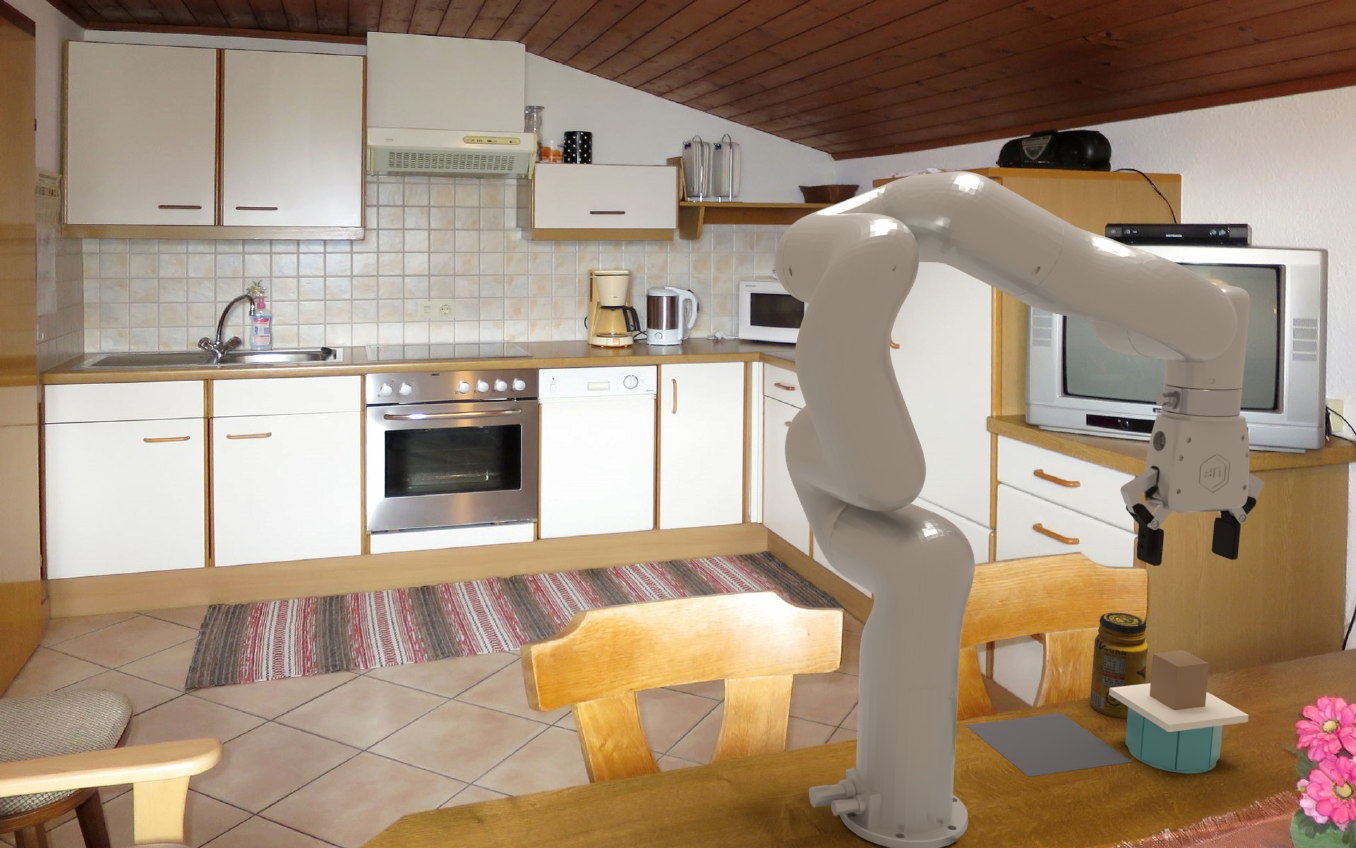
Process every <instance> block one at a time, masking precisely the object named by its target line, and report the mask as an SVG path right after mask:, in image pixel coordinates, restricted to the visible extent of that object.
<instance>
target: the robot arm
mask: <svg viewBox="0 0 1356 848" xmlns="http://www.w3.org/2000/svg"><path fill="white" fill-rule="evenodd" d="M920 263H939V264H944V265H947V266H948V267H949V266H950V267H952V268H955V269H957V270H959V271H960V272H962V273H965V274H966V275H968V276H971V277H972V278H974V279H977V280H978V281H980V282H983V283H985V284H987V285H988V286H990V287H992V288H994V289H997V290H998V291H1000V292H1003V293H1004V294H1006V295H1008V296H1010V297H1012V298H1014V299H1015V300H1017V301H1020V302H1021V303H1023V304H1025V305H1027V306H1030V307H1032V308H1035V309H1038V310H1042V311H1044V312H1045V311H1046V312H1049V313H1050V314H1051V313H1052V314H1055V315H1060V316H1065V317H1071V318H1077V319H1083V320H1086V321H1087V320H1088V321H1091V323H1092V328H1093V331H1094V332H1093V333H1094V334H1095V336H1096V337H1097V339H1098V340H1099V341H1100V342H1101V344H1102V345H1104V346H1105V347H1107V348H1108V349H1110V350H1111V351H1114V352H1116V353H1119V354H1123V355H1128V356H1133V357H1142V358H1149V359H1160V360H1165V366H1164V375H1163V390H1162V393H1158V394H1156V396H1155V402H1156V403H1155V404H1156V405H1157V406H1159V407H1161V411H1160V412H1161V413H1157V415H1156V418H1155V421H1154V423H1153V428H1152V431H1151V435H1150V437H1149V438H1150V439H1149V443H1148V447H1147V448H1148V449H1147V454H1146V459H1145V460H1146V461H1145V465H1144V467H1145V468H1144V472H1142V473H1140V475H1138V476H1136V477H1135V478H1133V479H1132V480H1129V481H1128V482H1126V483H1125V484H1123V485H1122V486H1121V487H1120V493H1121V496H1122V499H1123V501H1124V504H1125V510H1126V511H1127V512H1128V514H1129V515H1130V516H1131V517H1132V518H1133V522H1134V523H1135V524H1137V525H1138V532H1137V541H1136V542H1137V543H1136V558H1137V560H1138V561H1141V562H1143V563H1146V564H1148V565H1150V566H1153V567H1158V566H1161V564H1162V562H1163V561H1162V560H1163V550H1164V539H1165V538H1164V537H1165V531H1164V529H1162V528H1160V527H1161V525H1162V524H1163V523H1164V522H1165V520H1166V519H1167V518H1168V517H1169V515H1170V514H1171V512H1173V513H1177V514H1191V513H1193V514H1194V513H1208V512H1217V513H1218V514H1219V516H1220V517H1219V516H1218V517H1216V516H1215V518H1214V521H1213V531H1212V541H1211V552H1212V553H1213V554H1214V555H1218V556H1220V557H1222V558H1225V559H1228V560H1231V561H1235V560H1237V559H1238V557H1239V548H1240V539H1241V538H1240V536H1241V527H1242V526H1241V525H1242V524H1246V522H1247V520H1248V515H1249V514H1250V512H1252V510H1253V509H1254V508H1255V507H1256V505H1257V500H1256V499H1258V498H1259V496H1260V494H1261V492H1262V491H1263V489H1264V486H1265V482H1264V480H1263V479H1261V478H1259V477H1258V476H1256V475H1254V474H1252V473H1251V472H1250V439H1249V429H1248V425H1247V420H1246V417H1245V416H1242V415H1240V414H1241V405H1242V397H1243V396H1242V395H1243V382H1244V372H1245V362H1246V352H1247V344H1248V343H1247V342H1248V330H1249V320H1250V311H1251V299H1250V295H1249V293H1248V291H1246V289H1244V288H1242V287H1240V286H1234V285H1219V284H1215V283H1213V282H1211V281H1210V280H1208V279H1206V278H1204V277H1202V275H1200V274H1198V273H1196V272H1195V271H1192V270H1190V269H1189V268H1187V267H1184V266H1183V265H1181V264H1179V263H1176V262H1174V261H1172V260H1170V259H1169V258H1168V259H1167V258H1165V257H1163V256H1160V255H1157V254H1154V253H1152V252H1149V251H1145V250H1142V249H1139V248H1137V247H1133V246H1131V245H1128V244H1125V243H1122V242H1119V241H1117V240H1114V239H1112V238H1109V237H1107V236H1104V235H1101V234H1098V233H1095V232H1091V231H1089V230H1085V229H1082V228H1079V227H1077V226H1075V225H1073V224H1071V223H1070V222H1068V221H1066V220H1064V219H1063V218H1060V217H1059V216H1057V215H1055V214H1053V213H1051V212H1050V211H1048V210H1047V209H1044V208H1043V207H1041V206H1039V205H1038V204H1036V203H1034V202H1032V201H1030V200H1029V199H1027V198H1025V197H1023V196H1022V195H1019V194H1018V193H1016V192H1014V191H1012V190H1010V189H1009V188H1007V187H1005V186H1003V185H1001V184H1000V183H998V182H997V181H995V180H992V179H990V178H989V177H987V176H984V175H983V174H982V175H981V174H979V173H975V172H970V171H965V170H962V171H961V170H959V171H956V170H955V171H946V172H945V171H944V172H934V173H921V174H912V175H909V176H906V177H902V178H898V179H896V180H893V181H891V182H888V183H885V184H883V185H881V186H878V187H875V188H872V189H870V190H868V191H866V192H863V193H861V194H858V195H855V196H853V197H851V198H848V199H845V200H844V201H843V200H842V201H840V202H837V203H836V204H833V205H830V206H828V207H824V208H822V209H819V210H817V211H814V212H812V213H810V214H807V215H805V216H803V217H800V218H799V219H798V220H796V221H795V222H793V223H792V224H790V226H789V227H788V228H787V229H786V230H785V231H784V233H783V234H782V236H781V238H780V239H779V241H778V243H777V246H776V249H775V254H774V268H775V273H776V275H777V278H778V280H779V283H780V284H781V286H782V287H783V288H784V290H785V291H786V292H787V293H788V294H789V295H791V297H793V298H794V299H797V300H798V301H800V302H804V303H806V304H807V307H806V310H805V312H804V315H803V318H802V321H801V324H800V326H799V331H798V334H797V338H796V342H795V349H794V361H795V362H794V363H795V371H796V372H795V373H796V377H797V382H798V385H799V388H800V391H801V393H802V394H801V395H802V397H803V399H804V402H805V406H804V407H802V408H801V409H800V410H799V411H797V413H796V414H795V415H794V417H793V419H791V420H792V421H791V422H790V424H789V427H788V429H787V433H786V436H785V441H784V442H785V444H784V455H785V462H786V463H785V464H786V469H787V471H788V475H789V477H790V480H791V482H792V483H791V484H792V485H793V488H794V490H795V493H796V495H797V497H798V501H799V502H800V505H801V507H802V509H803V512H804V514H805V517H806V520H807V522H808V525H809V526H810V529H811V531H812V534H813V536H814V538H815V541H816V543H817V545H818V548H819V549H820V551H821V553H822V555H823V557H824V558H825V559H826V561H827V562H828V564H829V565H830V566H831V568H833V569H834V570H835V571H836V572H837V573H839V574H840V575H841V576H843V577H845V578H846V579H847V580H850V581H851V582H853V583H854V584H856V585H858V586H860V587H862V588H864V589H866V591H868V592H870V593H872V594H873V597H874V599H873V600H874V601H873V605H872V608H871V610H870V613H869V615H868V618H867V619H866V622H865V625H864V627H863V631H862V632H861V633H862V634H861V638H860V645H859V660H858V661H859V663H858V666H859V671H858V699H857V700H858V701H857V703H858V704H857V728H856V729H857V731H856V762H855V764H856V765H855V767H850V768H847V769H846V771H845V777H846V778H845V779H841V780H838V782H837V783H836V784H830V785H828V784H824V785H817V786H816V785H815V786H810V787H809V789H808V800H809V802H810V804H811V806H812V808H820V807H825V806H826V807H827V806H830V808H831V813H832V814H833V816H835V817H837V816H840V819H841V821H842V823H843V824H844V825H845V826H846V827H847V829H848V830H849V831H851V832H853V834H855V835H857V836H858V837H860V838H862V839H863V840H866V841H867V842H871V843H873V844H875V845H879V846H881V847H882V846H883V847H886V848H944V847H946V846H949V845H951V844H954V843H956V842H957V841H958V840H960V839H959V838H961V837H962V836H963V835H964V834H965V833H966V831H967V829H968V826H969V813H968V809H967V807H966V805H965V804H964V803H963V802H962V800H961V799H959V797H957V796H956V795H955V794H954V781H955V780H954V779H955V762H956V760H955V758H956V742H957V741H956V740H957V739H956V738H957V721H958V720H957V718H958V699H959V697H958V696H959V679H960V677H959V676H960V660H961V659H960V658H961V657H960V655H961V644H962V634H963V633H962V632H963V625H964V620H965V614H966V612H967V611H966V610H967V607H968V606H967V605H968V601H969V600H970V599H969V598H970V594H971V590H972V588H973V583H974V580H975V579H974V578H975V571H976V570H975V569H976V560H975V554H974V551H973V548H972V545H971V543H970V541H969V539H968V538H967V536H966V534H965V533H964V532H963V530H961V529H960V528H959V527H958V526H957V525H956V524H955V523H953V522H952V521H950V520H949V519H948V518H945V517H944V516H942V515H941V514H938V513H936V512H934V511H931V510H928V509H926V508H923V507H922V506H918V505H915V504H913V502H914V501H915V500H916V499H917V498H918V497H919V495H920V494H921V492H922V491H923V488H924V484H925V481H926V475H927V465H926V461H925V455H924V451H923V447H922V445H921V442H920V440H919V437H918V434H917V431H916V427H915V425H914V423H913V421H912V418H911V414H910V412H909V409H908V407H907V404H906V402H905V398H904V396H903V393H902V390H901V388H900V385H899V382H898V380H897V376H896V373H895V369H894V365H893V362H892V356H891V346H890V345H891V337H892V331H893V328H894V325H895V321H896V319H897V316H898V314H899V312H900V311H901V308H902V307H903V304H904V302H905V301H906V299H907V297H908V295H909V294H910V292H911V291H912V289H913V287H914V284H915V282H916V279H917V276H918V272H919V266H920ZM1142 494H1143V498H1144V500H1145V502H1144V503H1142V498H1141V496H1142Z"/></svg>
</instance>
